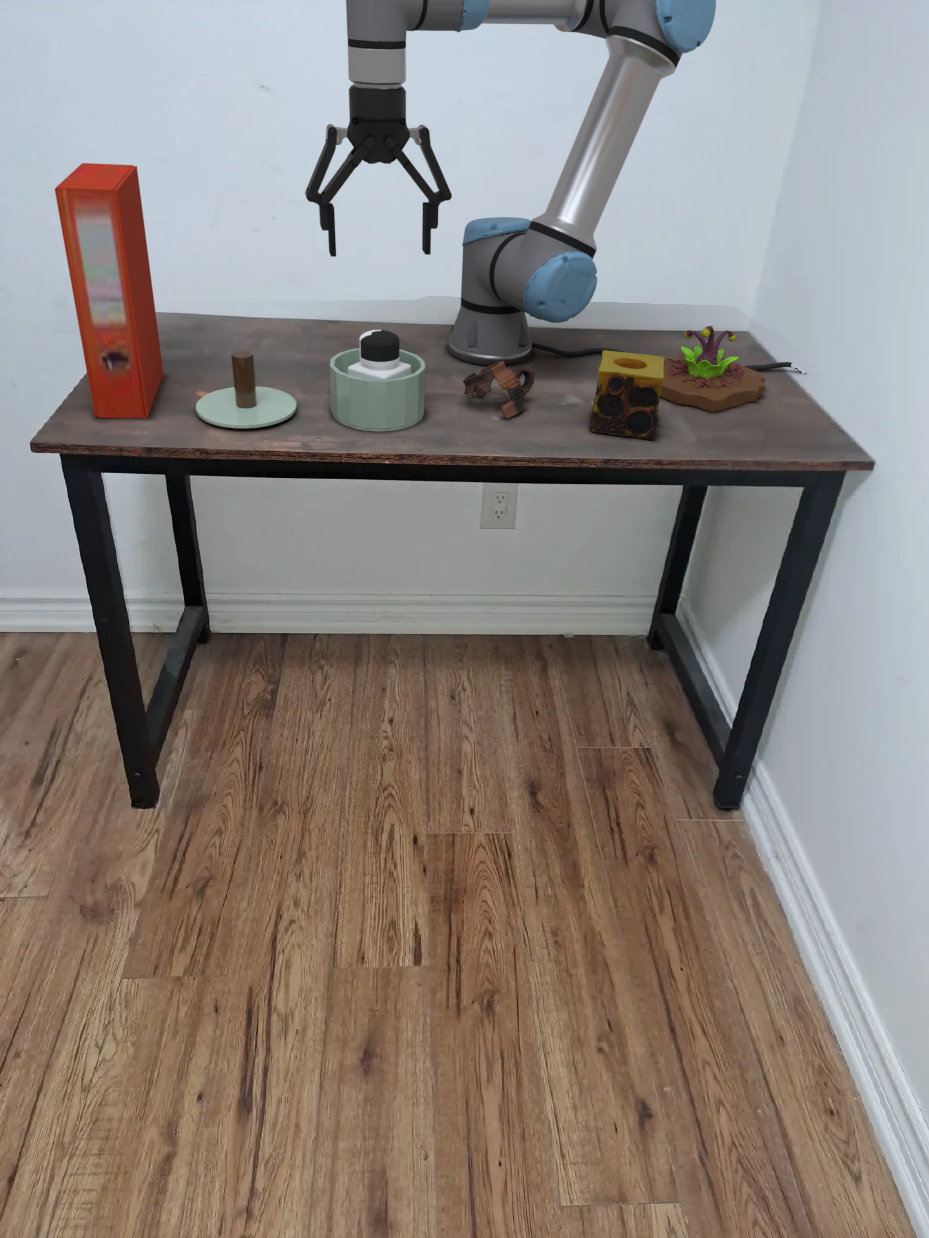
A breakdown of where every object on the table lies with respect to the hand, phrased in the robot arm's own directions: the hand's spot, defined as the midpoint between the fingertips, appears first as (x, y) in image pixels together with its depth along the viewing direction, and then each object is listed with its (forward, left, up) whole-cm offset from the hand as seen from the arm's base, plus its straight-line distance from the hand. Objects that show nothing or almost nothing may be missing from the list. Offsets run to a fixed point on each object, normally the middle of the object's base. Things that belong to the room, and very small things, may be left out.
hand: (379, 253), depth 135 cm
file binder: (+38, -8, -24) cm, 46 cm away
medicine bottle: (0, +2, -23) cm, 23 cm away
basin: (+1, +2, -24) cm, 24 cm away
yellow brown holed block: (-37, +10, -24) cm, 45 cm away
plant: (-56, -4, -24) cm, 61 cm away
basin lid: (+21, 0, -23) cm, 31 cm away
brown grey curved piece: (-19, +1, -24) cm, 31 cm away
